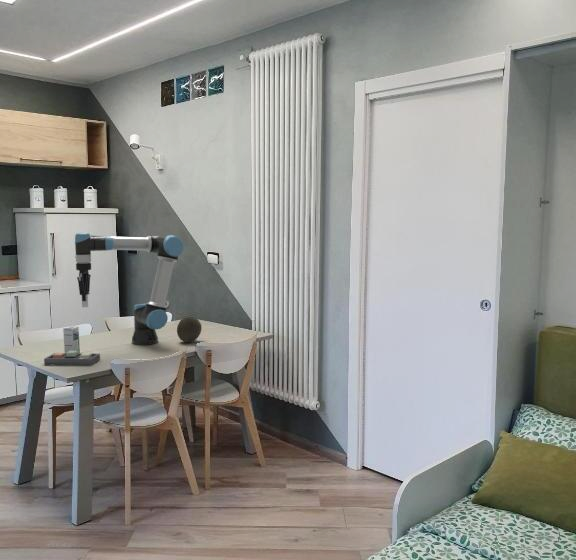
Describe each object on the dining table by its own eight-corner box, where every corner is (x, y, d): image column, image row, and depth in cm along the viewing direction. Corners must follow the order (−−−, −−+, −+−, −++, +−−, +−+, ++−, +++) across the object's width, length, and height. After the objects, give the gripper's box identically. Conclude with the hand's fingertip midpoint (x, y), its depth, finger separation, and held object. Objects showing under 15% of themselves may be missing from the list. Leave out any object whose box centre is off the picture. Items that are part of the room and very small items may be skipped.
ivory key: (91, 357, 304) (91, 353, 303) (88, 359, 299) (88, 355, 299) (83, 357, 304) (83, 353, 304) (80, 359, 299) (80, 355, 299)
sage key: (78, 354, 304) (78, 350, 304) (75, 356, 299) (74, 352, 299) (69, 354, 304) (69, 350, 304) (66, 356, 300) (66, 352, 299)
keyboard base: (100, 359, 308) (99, 352, 307) (91, 365, 296) (91, 358, 295) (54, 359, 308) (54, 352, 308) (44, 364, 297) (44, 357, 296)
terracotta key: (65, 356, 304) (64, 352, 304) (61, 358, 300) (61, 355, 300) (56, 356, 304) (56, 352, 304) (52, 358, 300) (52, 354, 300)
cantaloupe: (196, 345, 342) (196, 319, 340) (173, 344, 345) (173, 318, 343) (204, 340, 355) (204, 315, 354) (182, 339, 358) (182, 314, 357)
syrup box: (73, 354, 318) (72, 328, 316) (64, 354, 319) (63, 327, 318) (79, 352, 323) (79, 326, 322) (70, 351, 325) (69, 325, 323)
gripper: (81, 261, 317) (82, 305, 319) (71, 263, 304) (73, 308, 307) (95, 261, 317) (96, 305, 319) (85, 263, 304) (87, 309, 306)
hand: (85, 306), depth 313 cm, fingers closed
